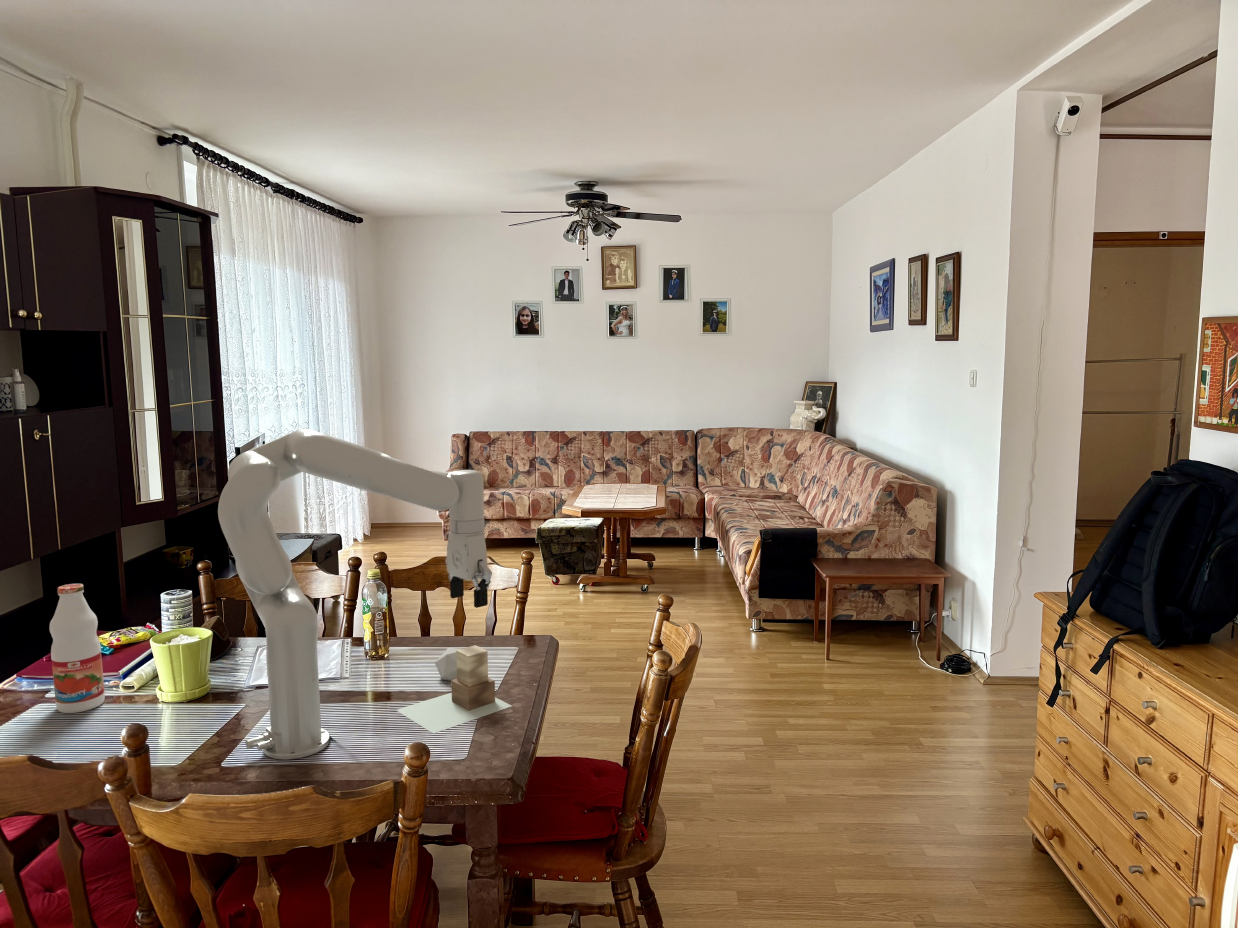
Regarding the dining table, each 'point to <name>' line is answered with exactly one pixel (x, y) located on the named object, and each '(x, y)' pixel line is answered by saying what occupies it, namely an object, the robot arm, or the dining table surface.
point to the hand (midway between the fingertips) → (468, 601)
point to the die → (448, 664)
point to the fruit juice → (76, 653)
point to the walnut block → (473, 694)
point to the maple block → (472, 665)
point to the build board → (446, 712)
